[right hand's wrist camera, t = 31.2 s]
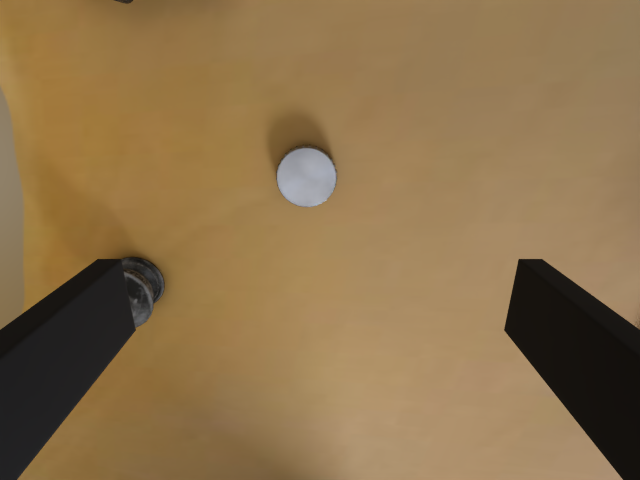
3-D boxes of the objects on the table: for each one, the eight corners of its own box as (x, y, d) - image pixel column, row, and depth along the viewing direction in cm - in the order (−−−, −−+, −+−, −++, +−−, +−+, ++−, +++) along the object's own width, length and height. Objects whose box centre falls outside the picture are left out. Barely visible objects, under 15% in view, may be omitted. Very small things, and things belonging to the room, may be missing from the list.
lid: (279, 141, 32) (277, 143, 30) (339, 147, 32) (341, 150, 31) (275, 199, 34) (273, 204, 32) (332, 205, 34) (333, 210, 32)
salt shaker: (102, 300, 37) (10, 389, 25) (108, 247, 35) (11, 318, 24) (162, 314, 37) (99, 407, 26) (171, 263, 35) (107, 339, 24)
